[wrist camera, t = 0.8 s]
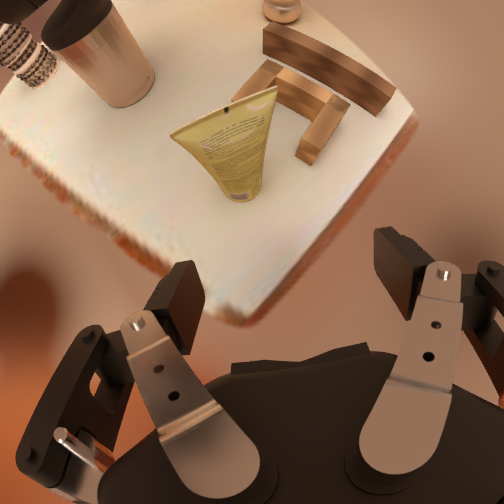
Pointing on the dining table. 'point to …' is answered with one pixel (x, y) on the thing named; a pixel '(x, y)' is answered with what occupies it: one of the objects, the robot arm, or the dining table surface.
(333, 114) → the block
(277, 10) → the plastic bottle
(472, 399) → the robot arm
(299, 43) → the wooden plank
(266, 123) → the tube
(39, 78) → the decorative candle
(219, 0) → the dining table surface
